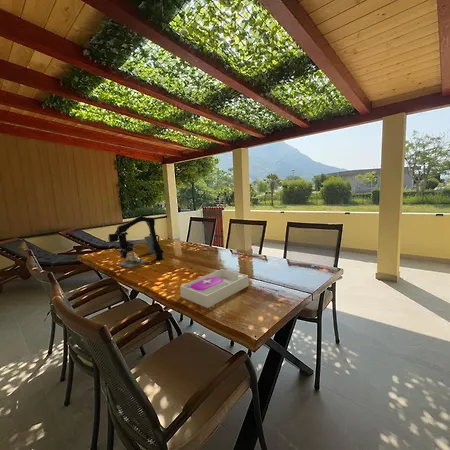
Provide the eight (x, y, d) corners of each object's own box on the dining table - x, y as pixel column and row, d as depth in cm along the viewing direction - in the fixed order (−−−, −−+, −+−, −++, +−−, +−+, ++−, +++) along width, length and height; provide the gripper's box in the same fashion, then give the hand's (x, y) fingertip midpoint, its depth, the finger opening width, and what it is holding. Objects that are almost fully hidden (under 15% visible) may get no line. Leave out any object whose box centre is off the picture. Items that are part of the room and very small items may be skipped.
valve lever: (133, 254, 212) (133, 252, 212) (135, 254, 211) (134, 252, 210) (119, 258, 202) (119, 255, 201) (121, 258, 200) (120, 256, 200)
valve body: (142, 262, 208) (141, 255, 207) (137, 264, 204) (136, 256, 203) (130, 259, 219) (130, 252, 218) (125, 261, 215) (124, 254, 214)
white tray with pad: (248, 286, 148) (248, 275, 147) (207, 308, 123) (206, 295, 122) (222, 278, 163) (221, 268, 162) (181, 297, 138) (180, 285, 137)
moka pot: (144, 252, 249) (142, 233, 246) (159, 250, 255) (158, 232, 252) (146, 254, 240) (144, 235, 237) (161, 252, 247) (159, 233, 244)
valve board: (146, 262, 211) (145, 261, 211) (129, 268, 198) (129, 266, 198) (134, 260, 222) (134, 258, 221) (118, 265, 209) (117, 263, 209)
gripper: (137, 239, 199) (139, 257, 201) (125, 237, 210) (127, 255, 212) (125, 242, 190) (127, 261, 192) (113, 240, 201) (115, 258, 203)
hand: (124, 258), depth 200 cm, fingers closed
